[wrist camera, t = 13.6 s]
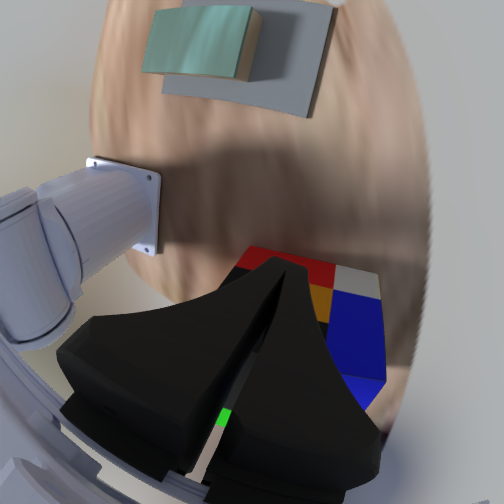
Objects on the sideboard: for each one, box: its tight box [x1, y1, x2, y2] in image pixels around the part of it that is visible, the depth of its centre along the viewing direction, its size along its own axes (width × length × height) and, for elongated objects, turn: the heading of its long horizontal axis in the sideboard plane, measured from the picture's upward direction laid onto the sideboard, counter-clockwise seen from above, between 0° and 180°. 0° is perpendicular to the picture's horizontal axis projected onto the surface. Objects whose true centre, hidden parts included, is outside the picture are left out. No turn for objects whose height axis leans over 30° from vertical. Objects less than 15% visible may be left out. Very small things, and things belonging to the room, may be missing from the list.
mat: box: [162, 0, 333, 118], centre depth 14 cm, size 11×8×1 cm
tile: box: [141, 5, 263, 83], centre depth 14 cm, size 2×5×7 cm
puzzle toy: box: [215, 246, 387, 427], centre depth 18 cm, size 10×10×10 cm
